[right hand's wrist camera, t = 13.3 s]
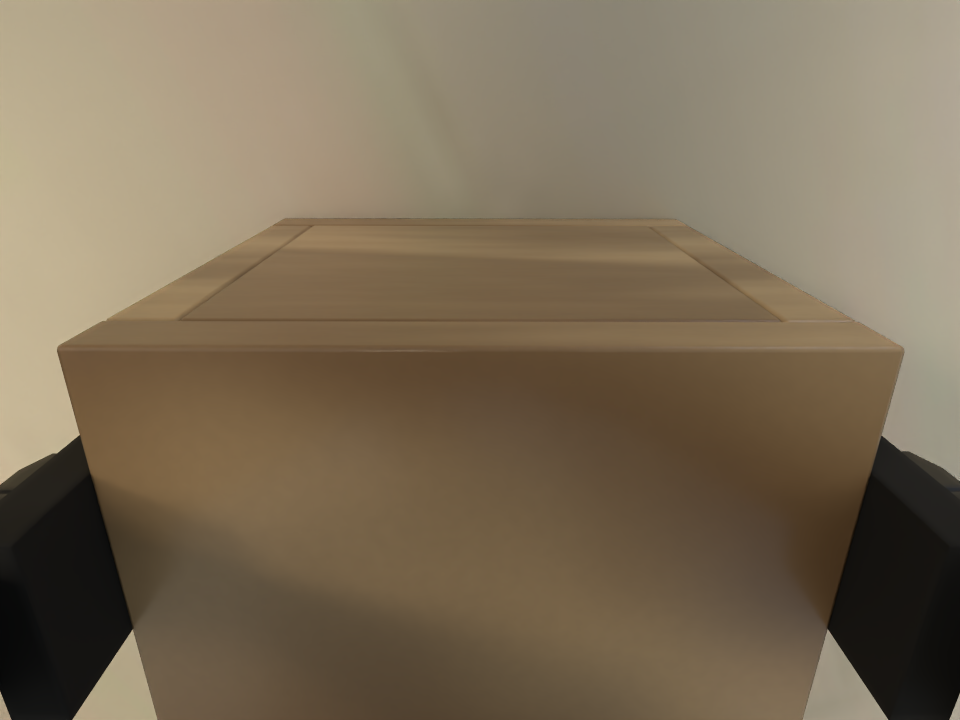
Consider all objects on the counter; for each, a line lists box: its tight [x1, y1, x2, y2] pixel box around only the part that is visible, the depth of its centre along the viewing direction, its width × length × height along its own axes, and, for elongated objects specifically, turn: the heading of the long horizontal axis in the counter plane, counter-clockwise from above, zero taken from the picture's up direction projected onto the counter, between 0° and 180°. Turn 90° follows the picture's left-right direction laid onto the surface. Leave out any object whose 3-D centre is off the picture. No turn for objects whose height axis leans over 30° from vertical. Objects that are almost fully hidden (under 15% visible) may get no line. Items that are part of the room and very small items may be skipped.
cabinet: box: [57, 219, 904, 720], centre depth 15 cm, size 16×10×10 cm, turn 0°
